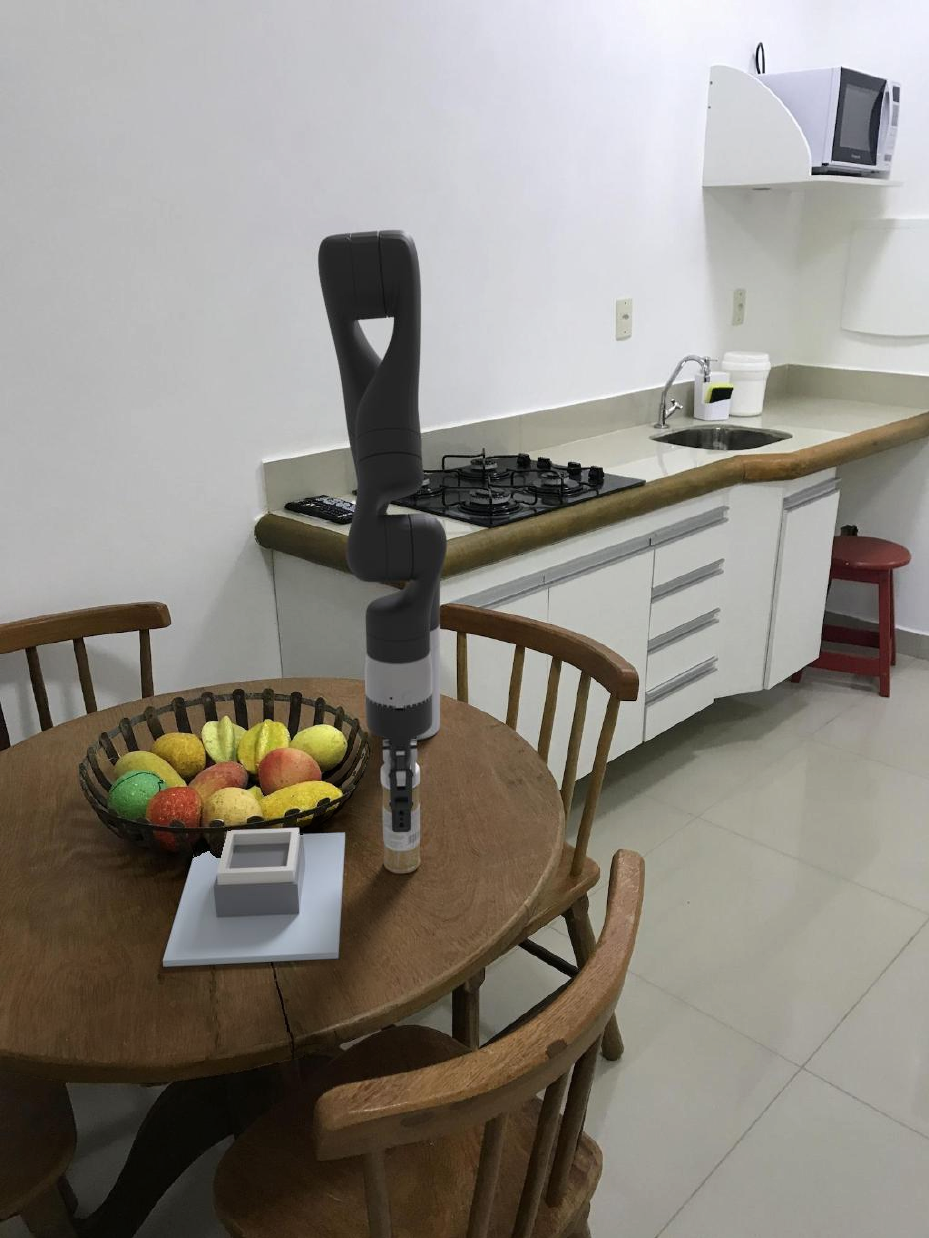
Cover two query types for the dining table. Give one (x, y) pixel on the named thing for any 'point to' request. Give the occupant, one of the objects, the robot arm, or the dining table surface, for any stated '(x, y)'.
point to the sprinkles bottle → (401, 845)
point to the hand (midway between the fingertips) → (401, 818)
